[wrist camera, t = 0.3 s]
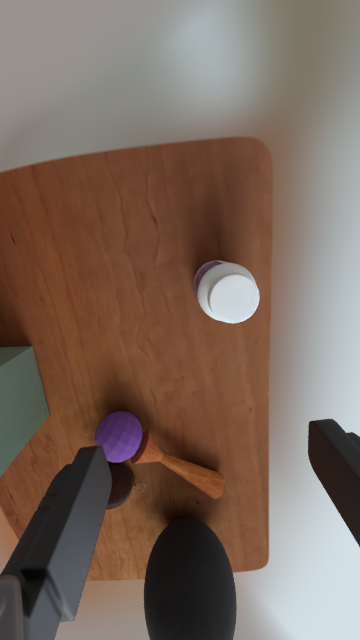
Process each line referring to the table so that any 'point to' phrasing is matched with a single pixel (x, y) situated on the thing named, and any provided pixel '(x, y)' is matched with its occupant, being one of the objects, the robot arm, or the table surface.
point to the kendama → (150, 451)
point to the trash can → (19, 401)
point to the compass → (120, 485)
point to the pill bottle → (226, 291)
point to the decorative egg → (189, 585)
